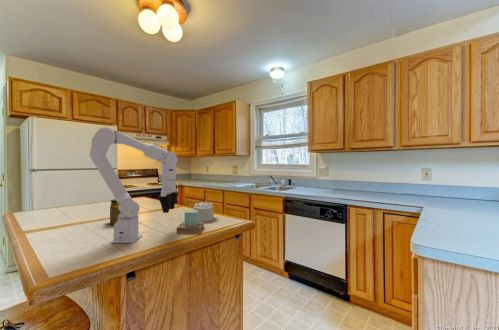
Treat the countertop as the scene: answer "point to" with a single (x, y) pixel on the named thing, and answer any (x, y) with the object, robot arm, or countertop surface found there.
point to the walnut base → (190, 228)
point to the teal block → (192, 218)
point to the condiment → (113, 213)
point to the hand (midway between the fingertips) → (168, 210)
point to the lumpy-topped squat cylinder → (205, 211)
